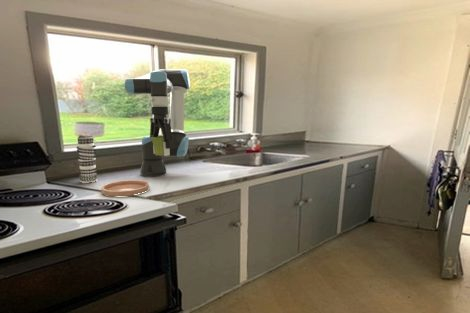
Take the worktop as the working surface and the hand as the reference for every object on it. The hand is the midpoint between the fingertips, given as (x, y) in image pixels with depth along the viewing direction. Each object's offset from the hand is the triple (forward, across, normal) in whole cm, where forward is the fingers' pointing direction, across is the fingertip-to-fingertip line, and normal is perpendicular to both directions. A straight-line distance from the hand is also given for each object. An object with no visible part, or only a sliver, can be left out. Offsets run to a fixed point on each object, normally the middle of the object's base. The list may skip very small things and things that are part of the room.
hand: (161, 154), depth 144 cm
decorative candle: (+17, -42, -19) cm, 50 cm away
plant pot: (0, 0, 0) cm, 1 cm away
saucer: (+17, -10, -14) cm, 24 cm away
